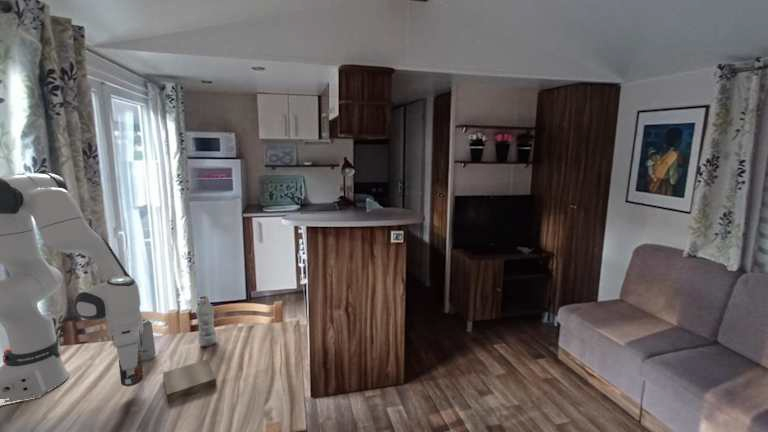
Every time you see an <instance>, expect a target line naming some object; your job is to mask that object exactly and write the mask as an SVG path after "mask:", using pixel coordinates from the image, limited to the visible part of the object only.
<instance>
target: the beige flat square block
mask: <svg viewBox="0 0 768 432" xmlns="http://www.w3.org/2000/svg"><path fill="white" fill-rule="evenodd" d="M162 372H163V373H162V377H163V383H164V387H165V393H166V399H167V403H168V404H170V403H172V402H176V401H179V400H182V399H184V398H187V397H189V396H193V395H196V394H199V393H201V392H205V391H207V390H210V389H213V388H216V387H217V380H216V376H215V374H214V372H213V369H212V367H211V364H210V362H209V360H208V359H204V360H200V361H197V362H193V363H190V364H187V365H184V366H180V367H178V368H174V369H171V370H167V371H162Z"/></svg>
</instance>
